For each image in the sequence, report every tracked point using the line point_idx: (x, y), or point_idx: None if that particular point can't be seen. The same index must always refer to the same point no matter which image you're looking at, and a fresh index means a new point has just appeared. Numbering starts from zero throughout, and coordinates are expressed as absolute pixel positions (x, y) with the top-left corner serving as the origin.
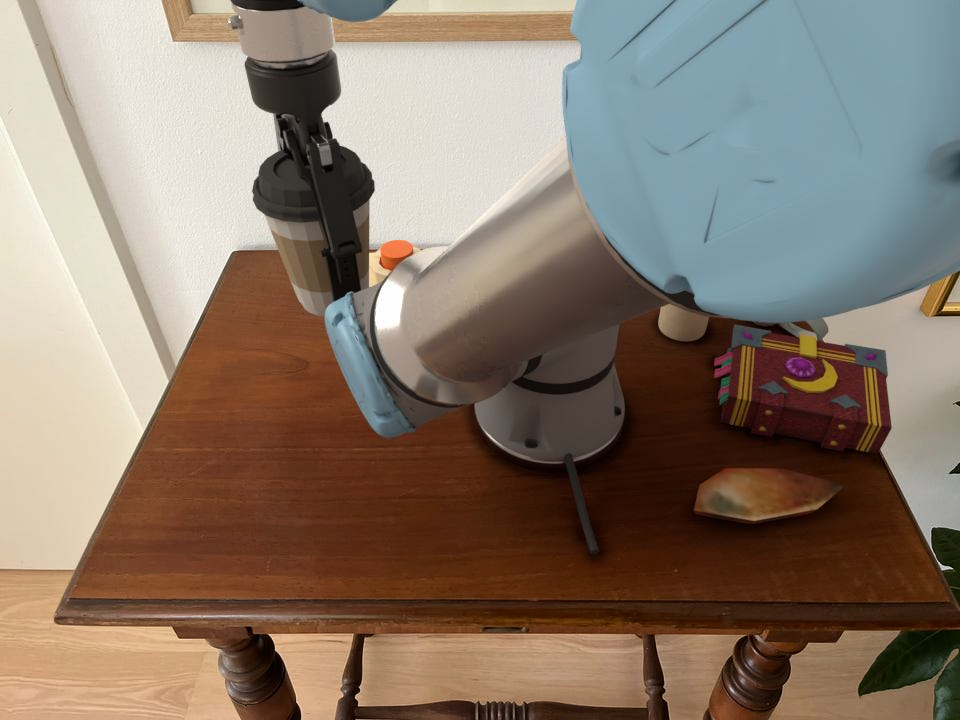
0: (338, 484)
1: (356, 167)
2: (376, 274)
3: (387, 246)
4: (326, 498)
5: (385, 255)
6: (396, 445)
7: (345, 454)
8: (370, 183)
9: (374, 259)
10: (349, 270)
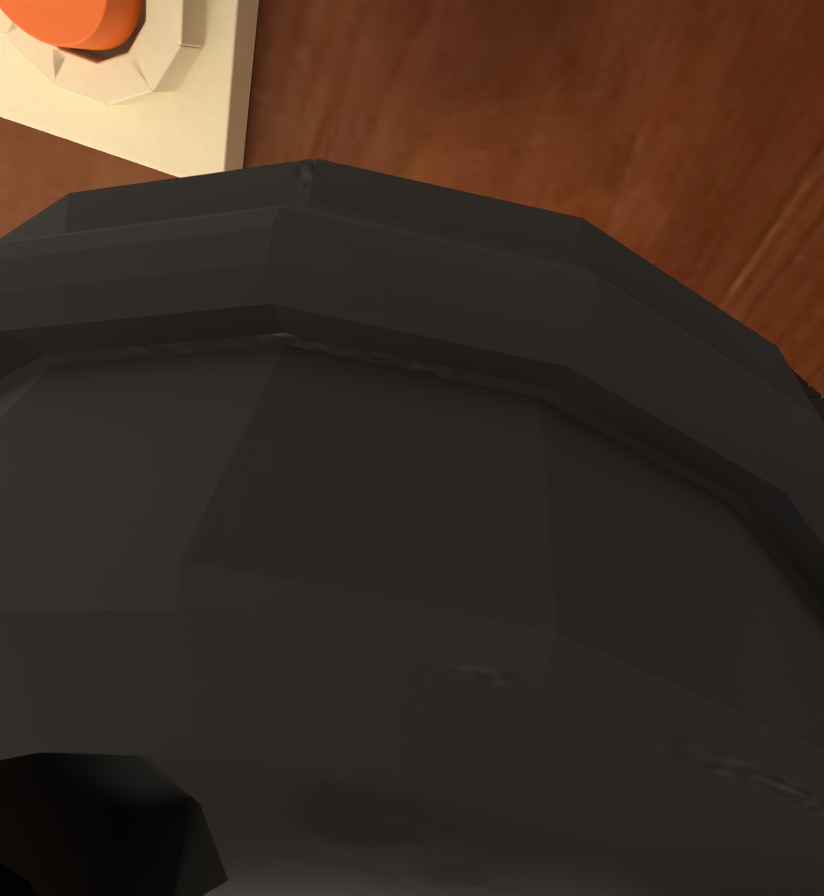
0: (801, 337)
1: (627, 718)
2: (158, 89)
3: (25, 3)
4: (816, 364)
5: (91, 30)
6: (790, 190)
7: (735, 309)
8: (655, 325)
9: (74, 76)
10: None
